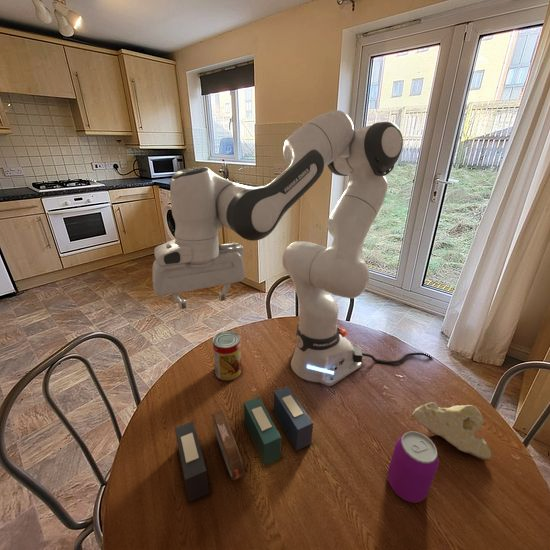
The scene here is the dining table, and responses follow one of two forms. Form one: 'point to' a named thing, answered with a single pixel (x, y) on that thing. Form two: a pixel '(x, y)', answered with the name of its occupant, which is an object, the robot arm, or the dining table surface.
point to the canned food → (227, 355)
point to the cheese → (454, 426)
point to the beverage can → (413, 466)
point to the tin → (228, 445)
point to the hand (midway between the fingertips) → (203, 303)
